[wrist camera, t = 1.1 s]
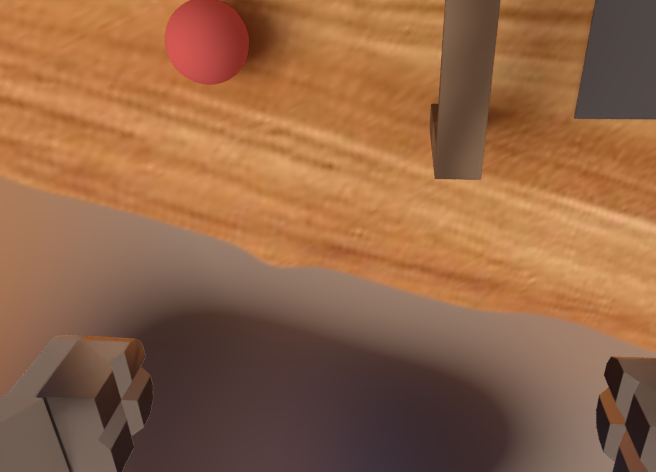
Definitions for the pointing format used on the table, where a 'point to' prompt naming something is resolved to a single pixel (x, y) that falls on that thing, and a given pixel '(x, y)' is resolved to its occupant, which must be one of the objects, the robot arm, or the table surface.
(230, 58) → the ball
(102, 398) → the robot arm
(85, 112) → the table surface
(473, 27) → the bridge
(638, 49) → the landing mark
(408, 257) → the table surface
